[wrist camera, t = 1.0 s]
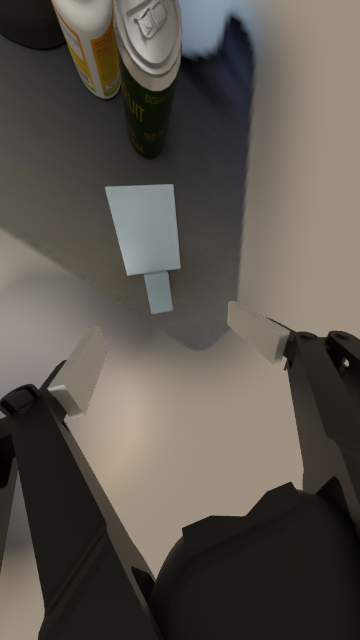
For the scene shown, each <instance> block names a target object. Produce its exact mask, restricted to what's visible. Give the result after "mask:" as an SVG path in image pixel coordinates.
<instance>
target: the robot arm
mask: <svg viewBox="0 0 360 640" xmlns="http://www.w3.org/2000/svg"><path fill="white" fill-rule="evenodd" d="M0 33H1V34H3V35H4V36H6V37H8V38H9V39H11V40H13V41H15V42H17V43H20V44H22V45H25V46H29V47H33V48H42V49H44V48H52V47H55V46H58V45H60V44H62V43H63V42H65V41H66V39H65V37H64V34H63V31H62V28H61V26H60V23H59V20H58V18H57V15H56V12H55V9H54V7H53V4H52V1H51V0H0ZM227 325H229V326H230V327H231V328H232V329H233V330H234V331H236V333H238V334H239V335H240V336H241V337H242V338H243V339H244V340H245V341H247V342H248V343H249V344H250V345H251V346H252V347H253V348H255V349H256V350H257V351H258V352H259V353H260V354H261V355H263V356H264V357H265V358H266V359H267V360H268V361H269V362H270V363H271V364H275V363H279V362H281V361H282V357H283V356H285V357H286V358H287V361H286V364H285V367H284V370H286V369H287V370H288V376H289V382H290V388H291V394H292V400H293V405H294V411H295V418H296V424H297V430H298V435H299V442H300V447H301V454H302V459H303V467H304V473H303V491H302V490H298V489H296V488H295V487H294V485H293V484H292V482H289V483H286V484H284V485H282V486H279V487H277V488H275V489H272V490H270V491H268V492H266V493H265V494H264V496H263V497H262V498H261V499H260V500H259V501H258V502H257V504H256V505H255V506H254V507H253V508H252V510H251V511H250V512H249V513H248V514H247V515H246V516H242V517H240V516H209V517H207V518H204V519H202V520H200V521H197V522H195V523H193V524H190V525H188V526H186V527H183V528H182V532H183V536H182V537H181V538H180V539H179V540H178V541H177V542H176V544H175V545H174V547H173V548H172V549H171V551H170V552H169V554H168V556H167V558H166V560H165V561H164V563H163V565H162V567H161V570H160V572H159V574H158V577H157V579H155V577H154V575H153V574H152V572H151V570H150V569H149V567H148V565H147V563H146V561H145V560H144V558H143V557H142V555H141V553H140V552H139V550H138V549H137V548H136V546H135V545H134V543H133V542H132V540H131V539H130V537H129V536H128V534H127V532H126V530H125V528H124V526H123V525H122V523H121V521H120V519H119V517H118V516H117V514H116V512H115V510H114V509H113V507H112V505H111V503H110V501H109V500H108V498H107V496H106V494H105V492H104V491H103V489H102V487H101V485H100V484H99V482H98V480H97V478H96V476H95V475H94V473H93V471H92V469H91V467H90V466H89V464H88V462H87V460H86V459H85V457H84V455H83V453H82V451H81V449H80V448H79V446H78V444H77V442H76V441H75V439H74V437H73V435H72V433H71V432H70V430H69V428H68V426H67V425H66V423H65V422H64V418H65V416H66V414H68V415H69V417H70V418H71V419H73V418H77V417H80V416H84V415H85V413H86V411H87V407H88V405H89V402H90V399H91V397H92V394H93V391H94V388H95V385H96V383H97V380H98V377H99V374H100V371H101V368H102V366H103V363H104V360H105V357H106V354H107V351H108V347H107V345H106V342H105V340H104V337H103V335H102V333H101V330H100V328H99V326H95V327H90V328H89V329H88V331H87V332H86V334H85V335H84V337H83V338H82V340H81V341H80V342H79V344H78V345H77V346H76V348H75V349H74V351H73V352H72V354H71V355H70V356H69V358H68V359H67V360H64V361H62V362H61V363H60V364H59V365H58V366H56V368H55V369H54V370H53V372H52V373H51V374H50V376H49V377H48V379H47V380H46V381H45V382H44V384H43V385H42V386H41V388H40V389H39V390H38V389H37V388H36V387H35V386H34V385H33V384H27V385H24V386H21V387H18V388H16V389H14V390H13V391H11V392H10V393H8V394H7V395H5V396H4V397H3V398H2V399H1V400H0V411H1V412H2V413H3V414H5V415H6V417H4V418H2V419H0V572H1V566H2V560H3V554H4V548H5V542H6V537H7V531H8V525H9V519H10V513H11V507H12V501H13V495H14V490H15V483H16V478H17V472H18V470H19V476H20V481H21V486H22V491H23V496H24V501H25V507H26V511H27V517H28V522H29V527H30V532H31V537H32V543H33V548H34V553H35V558H36V563H37V568H38V573H39V579H40V584H41V589H42V594H43V599H44V607H45V615H44V620H43V623H42V625H41V628H40V631H39V636H38V640H360V340H359V339H358V338H357V337H355V336H353V335H351V334H348V333H347V332H343V331H330V332H329V334H328V336H327V337H318V336H316V335H314V334H312V333H309V332H295V331H293V330H291V329H289V328H287V327H286V326H284V325H281V324H280V323H277V322H276V321H274V320H272V319H269V318H266V317H264V316H262V315H260V314H258V313H257V312H255V311H253V310H251V309H249V308H247V307H246V306H244V305H242V304H240V303H238V302H237V301H230V302H228V319H227ZM346 359H347V360H348V362H349V366H348V367H347V366H346V365H345V364H344V362H345V361H346Z"/></svg>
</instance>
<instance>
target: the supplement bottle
mask: <svg viewBox="0 0 360 640" xmlns="http://www.w3.org/2000/svg"><path fill="white" fill-rule="evenodd" d="M51 1H52V4H53V7H54V9H55V12H56V15H57V18H58V20H59V23H60V26H61V28H62V31H63V34H64V37H65V39H66V42H67V45H68V47H69V50H70V53H71V55H72V58H73V61H74V63H75V66H76V68H77V71H78V73H79V75H80V77H81V79H82V81H83V82H84V84H85V85H86V86H87V88H88V89H89V90H90V91H91V92H92V93H93V94H95V95H96V96H98V97H100V98H103V99H109V98H112V97H113V96H115V95H116V93H117V92H118V90H119V88H120V84H121V79H120V71H119V64H118V57H117V49H116V42H115V34H114V27H113V0H51Z"/></svg>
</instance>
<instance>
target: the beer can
mask: <svg viewBox="0 0 360 640" xmlns="http://www.w3.org/2000/svg"><path fill="white" fill-rule="evenodd" d="M113 27H114V34H115V42H116V49H117V57H118V64H119V71H120V79H121V86H122V94H123V101H124V109H125V116H126V124H127V130H128V135H129V138H130V140H131V142H132V145H133V146H134V147H135V149H136V150H137V151H138V152H139V153H140V154H142V155H143V156H146V157H154V156H156V155H158V154H159V153H160V152H161V150H162V149H163V146H164V143H165V139H166V134H167V129H168V124H169V118H170V113H171V108H172V103H173V98H174V93H175V88H176V83H177V78H178V73H179V67H180V61H181V51H182V43H181V36H182V24H181V12H180V7H179V3H178V0H114V5H113Z"/></svg>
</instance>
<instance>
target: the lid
mask: <svg viewBox="0 0 360 640" xmlns="http://www.w3.org/2000/svg"><path fill="white" fill-rule="evenodd" d="M105 190H106V194H107V198H108V202H109V206H110V210H111V213H112V217H113V221H114V225H115V229H116V233H117V237H118V241H119V245H120V249H121V252H122V256H123V260H124V264H125V268H126V272H127V275H134V274H142V273H144V279H145V284H146V289H147V294H148V298H149V303H150V308H151V313H152V314H155V313H161V312H166V311H172V310H173V307H172V299H171V291H170V284H169V276H168V272H167V271H166V270H172V269H179V268H181V267H180V255H179V244H178V233H177V222H176V211H175V200H174V189H173V184H165V185H139V186H113V187H105Z"/></svg>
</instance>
